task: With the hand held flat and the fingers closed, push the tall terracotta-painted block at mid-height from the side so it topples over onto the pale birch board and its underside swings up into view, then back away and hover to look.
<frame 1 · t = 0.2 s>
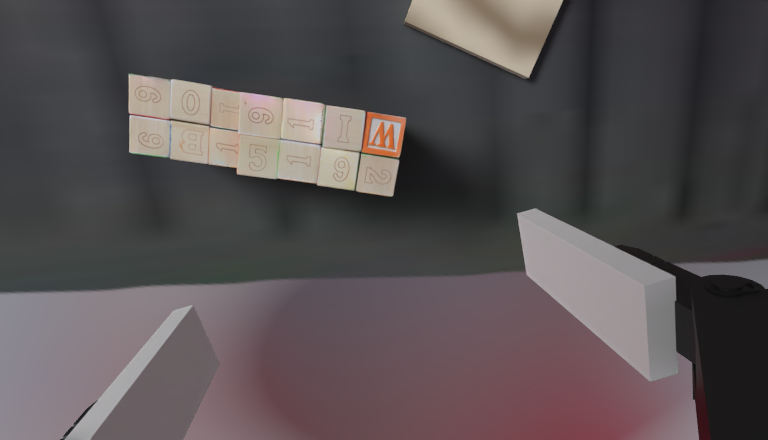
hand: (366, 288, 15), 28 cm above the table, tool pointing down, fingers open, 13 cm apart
stack of blocks: (285, 131, 40), on the table
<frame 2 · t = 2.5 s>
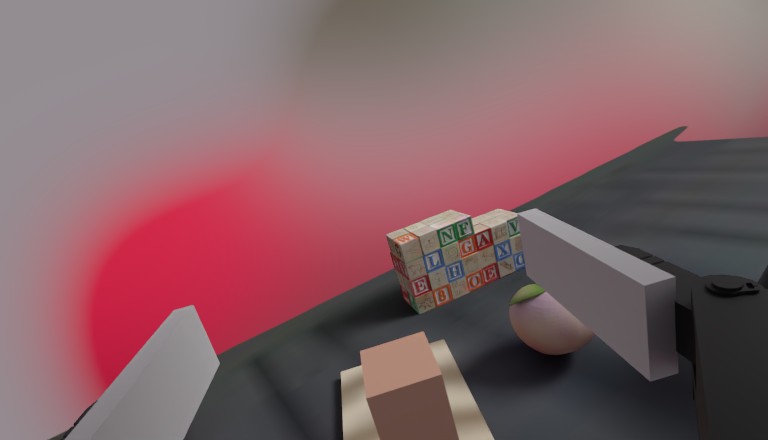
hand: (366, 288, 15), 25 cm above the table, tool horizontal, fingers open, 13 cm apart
stack of blocks: (467, 283, 64), on the table
decorative fruit: (561, 353, 44), on the table
board: (413, 435, 38), on the table
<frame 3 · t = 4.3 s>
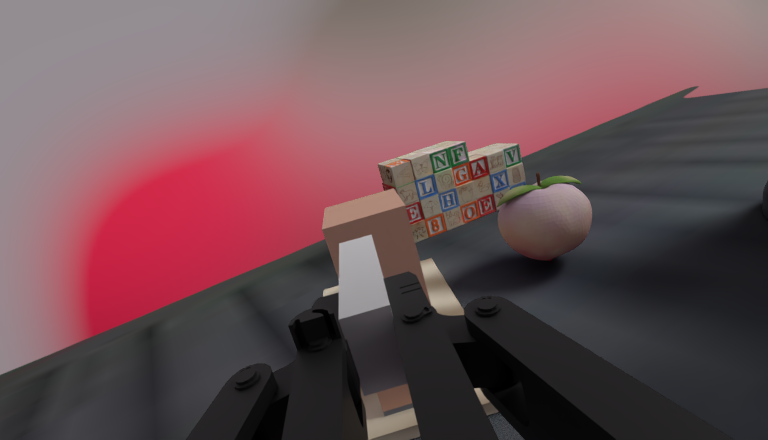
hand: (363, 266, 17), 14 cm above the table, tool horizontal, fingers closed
block: (413, 381, 29), point 1 cm above the table, touching board
stack of blocks: (462, 218, 62), on the table
decorative fruit: (552, 262, 42), on the table
board: (392, 334, 36), on the table
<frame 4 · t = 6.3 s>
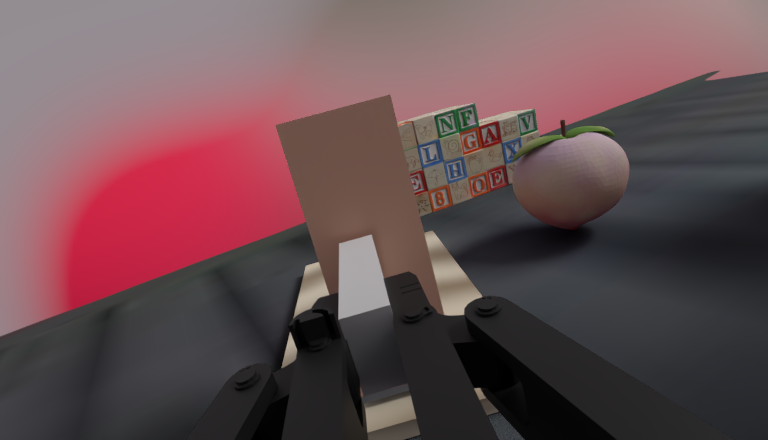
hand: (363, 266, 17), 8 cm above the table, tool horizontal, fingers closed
block: (404, 361, 22), point 1 cm above the table, touching board, gripper
stack of blocks: (470, 194, 55), on the table
decorative fruit: (577, 232, 35), on the table
board: (383, 312, 30), on the table
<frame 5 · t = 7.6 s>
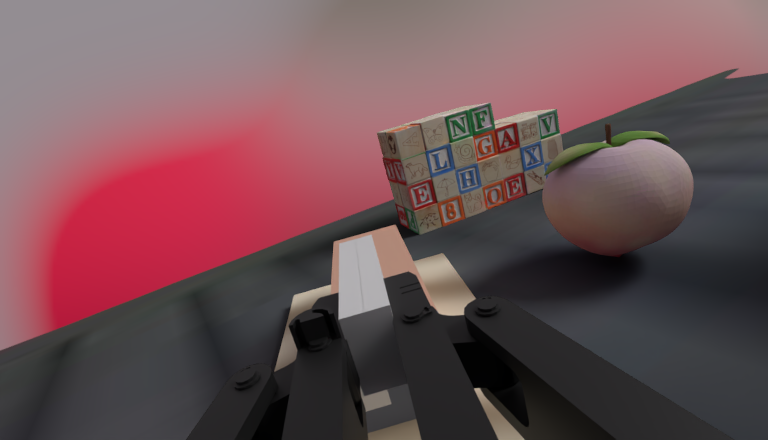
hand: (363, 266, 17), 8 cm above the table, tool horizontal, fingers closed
block: (397, 377, 17), point 3 cm above the table, tilted 90°, touching board
stack of blocks: (483, 204, 49), on the table
decorative fruit: (622, 260, 29), on the table
board: (386, 367, 23), on the table
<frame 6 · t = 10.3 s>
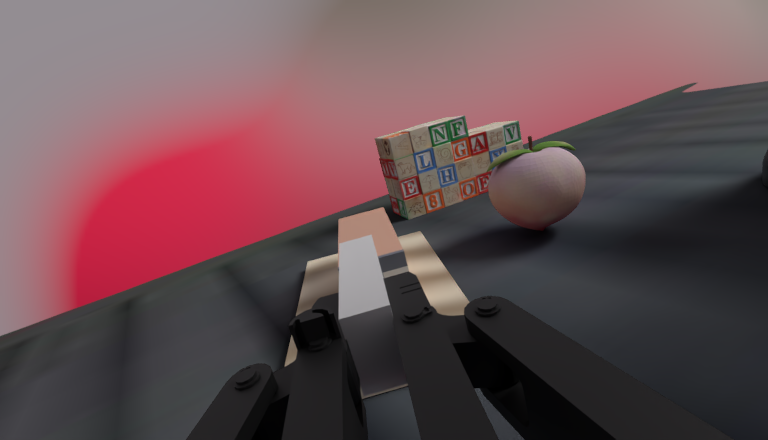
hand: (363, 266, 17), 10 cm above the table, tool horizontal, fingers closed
block: (379, 290, 29), point 3 cm above the table, tilted 90°, touching board
stack of blocks: (460, 197, 61), on the table
decorative fruit: (544, 232, 40), on the table
board: (375, 299, 35), on the table
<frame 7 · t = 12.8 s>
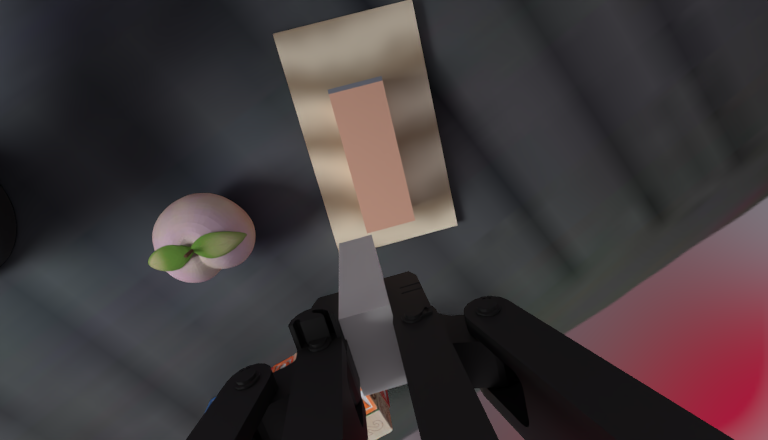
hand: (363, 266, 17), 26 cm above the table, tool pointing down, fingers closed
block: (353, 84, 37), point 3 cm above the table, tilted 90°, touching board
stack of blocks: (297, 376, 49), on the table
decorative fruit: (219, 221, 42), on the table
board: (372, 137, 42), on the table
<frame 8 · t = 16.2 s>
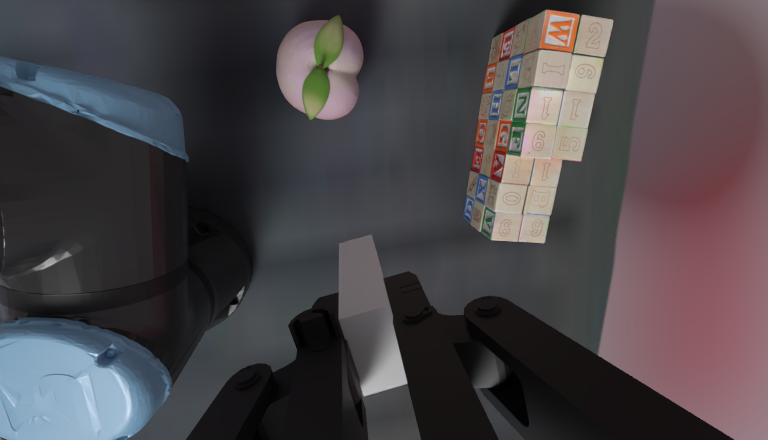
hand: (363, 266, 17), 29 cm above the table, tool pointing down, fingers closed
stack of blocks: (499, 134, 47), on the table
decorative fruit: (321, 76, 42), on the table
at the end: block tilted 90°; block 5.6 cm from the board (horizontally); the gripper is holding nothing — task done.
